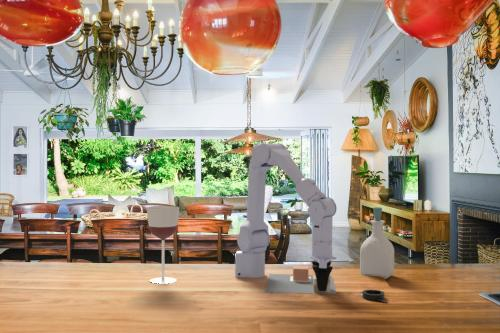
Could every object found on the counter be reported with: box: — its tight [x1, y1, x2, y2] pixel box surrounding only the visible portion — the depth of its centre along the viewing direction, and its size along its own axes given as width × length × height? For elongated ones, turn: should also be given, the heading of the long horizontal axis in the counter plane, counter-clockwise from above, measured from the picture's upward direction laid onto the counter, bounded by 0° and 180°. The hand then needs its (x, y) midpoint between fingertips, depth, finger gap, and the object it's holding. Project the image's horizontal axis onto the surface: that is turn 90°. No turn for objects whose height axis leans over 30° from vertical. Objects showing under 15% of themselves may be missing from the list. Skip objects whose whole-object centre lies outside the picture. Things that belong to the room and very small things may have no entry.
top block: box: [312, 274, 331, 292], centre depth 144 cm, size 5×5×4 cm
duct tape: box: [359, 289, 390, 304], centre depth 136 cm, size 8×10×3 cm
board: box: [264, 273, 338, 295], centre depth 152 cm, size 20×22×1 cm
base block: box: [292, 265, 309, 281], centre depth 156 cm, size 5×5×4 cm
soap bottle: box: [359, 206, 395, 280], centre depth 166 cm, size 10×10×23 cm
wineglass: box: [146, 205, 180, 285], centre depth 159 cm, size 9×10×23 cm
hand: (321, 288), depth 144 cm, fingers closed on top block, 5 cm apart
